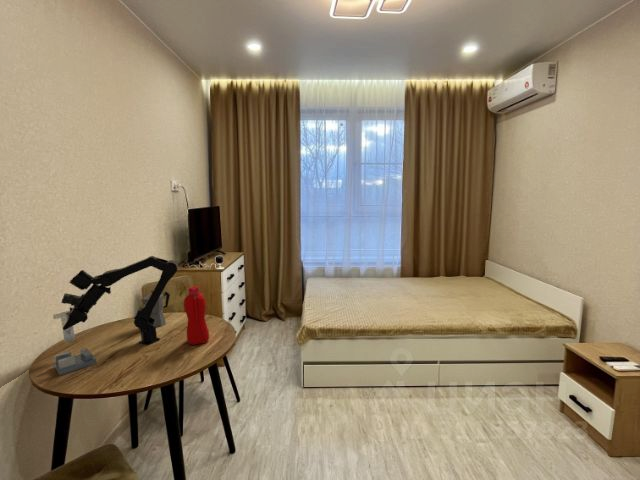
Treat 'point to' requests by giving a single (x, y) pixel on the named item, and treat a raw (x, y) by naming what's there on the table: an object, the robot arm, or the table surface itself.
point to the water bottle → (196, 317)
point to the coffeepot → (158, 309)
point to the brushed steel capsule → (64, 317)
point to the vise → (73, 361)
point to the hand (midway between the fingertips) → (63, 327)
